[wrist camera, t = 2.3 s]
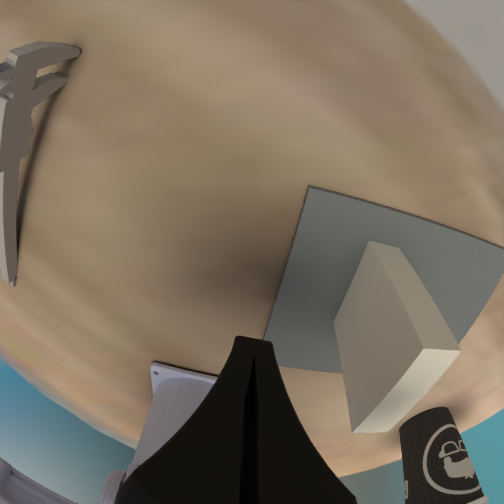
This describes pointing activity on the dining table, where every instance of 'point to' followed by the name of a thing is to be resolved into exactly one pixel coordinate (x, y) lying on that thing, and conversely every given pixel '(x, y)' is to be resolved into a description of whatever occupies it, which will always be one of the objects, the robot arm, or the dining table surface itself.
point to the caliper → (22, 128)
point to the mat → (346, 264)
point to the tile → (389, 340)
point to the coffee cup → (437, 462)
